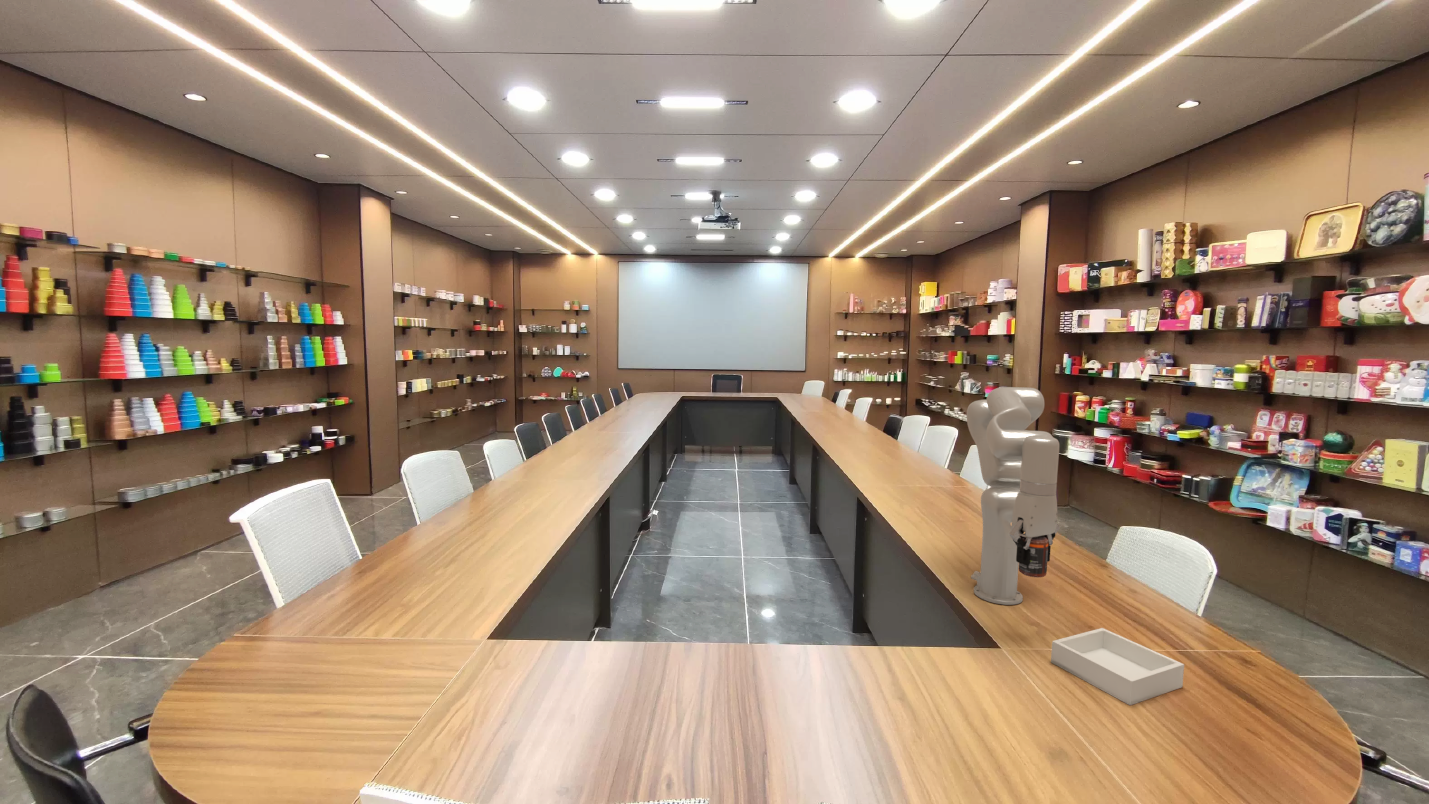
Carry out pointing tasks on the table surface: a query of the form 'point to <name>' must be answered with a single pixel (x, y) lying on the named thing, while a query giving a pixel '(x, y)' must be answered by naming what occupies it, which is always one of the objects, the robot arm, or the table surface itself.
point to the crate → (1117, 665)
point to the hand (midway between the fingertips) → (1032, 560)
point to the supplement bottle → (1036, 558)
